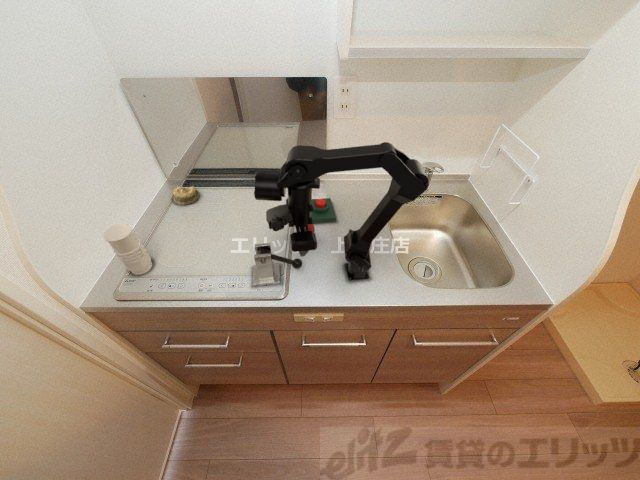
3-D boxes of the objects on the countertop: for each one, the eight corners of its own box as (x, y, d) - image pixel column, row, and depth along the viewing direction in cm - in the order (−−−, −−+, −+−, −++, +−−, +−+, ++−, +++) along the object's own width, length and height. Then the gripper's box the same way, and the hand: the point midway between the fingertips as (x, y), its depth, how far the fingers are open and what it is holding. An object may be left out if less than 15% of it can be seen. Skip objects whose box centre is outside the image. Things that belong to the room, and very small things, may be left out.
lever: (298, 263, 84) (303, 257, 82) (299, 272, 81) (305, 265, 80) (256, 252, 77) (260, 245, 75) (256, 260, 75) (260, 253, 73)
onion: (312, 244, 93) (312, 227, 87) (296, 241, 93) (295, 224, 87) (315, 233, 97) (316, 216, 91) (300, 230, 97) (300, 213, 91)
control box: (335, 221, 101) (336, 213, 98) (309, 223, 100) (309, 215, 97) (330, 202, 110) (330, 194, 107) (305, 203, 108) (305, 195, 105)
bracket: (279, 265, 86) (276, 239, 77) (280, 283, 81) (277, 258, 72) (253, 267, 85) (248, 242, 76) (253, 286, 80) (247, 260, 71)
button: (326, 208, 101) (326, 204, 100) (316, 208, 101) (316, 204, 99) (324, 202, 104) (324, 198, 102) (315, 202, 103) (315, 199, 102)
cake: (199, 204, 106) (195, 194, 102) (172, 207, 104) (167, 197, 100) (200, 188, 112) (196, 177, 108) (175, 191, 110) (170, 180, 106)
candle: (150, 274, 81) (127, 240, 70) (125, 277, 80) (98, 242, 69) (156, 257, 86) (135, 222, 75) (133, 259, 85) (108, 224, 74)
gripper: (265, 180, 70) (270, 224, 82) (267, 228, 58) (273, 272, 69) (307, 177, 72) (307, 221, 83) (318, 224, 59) (316, 268, 70)
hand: (300, 243), depth 76 cm, fingers open, 9 cm apart
